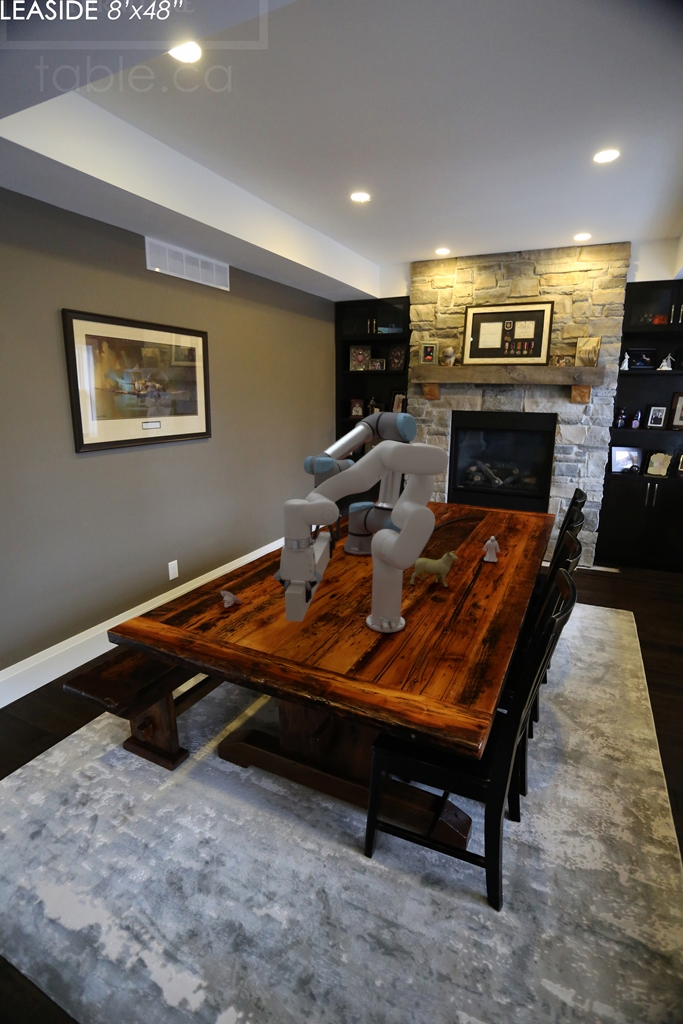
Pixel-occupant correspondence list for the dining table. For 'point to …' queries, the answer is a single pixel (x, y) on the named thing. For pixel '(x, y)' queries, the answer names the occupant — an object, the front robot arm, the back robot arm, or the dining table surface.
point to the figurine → (491, 550)
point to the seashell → (229, 598)
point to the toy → (434, 567)
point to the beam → (296, 589)
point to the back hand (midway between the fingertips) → (324, 556)
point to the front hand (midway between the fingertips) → (298, 599)
